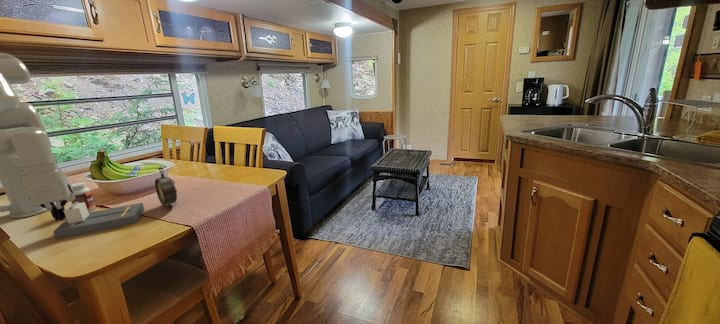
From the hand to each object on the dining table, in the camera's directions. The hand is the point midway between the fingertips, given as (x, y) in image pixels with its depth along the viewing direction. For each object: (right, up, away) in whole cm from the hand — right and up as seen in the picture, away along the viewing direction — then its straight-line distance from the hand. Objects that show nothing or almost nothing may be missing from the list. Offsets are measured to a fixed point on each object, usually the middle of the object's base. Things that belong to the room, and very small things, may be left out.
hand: (61, 218), depth 100 cm
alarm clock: (+26, +2, +18) cm, 32 cm away
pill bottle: (-7, 0, +17) cm, 19 cm away
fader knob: (+4, -1, +2) cm, 5 cm away
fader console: (+10, -3, +6) cm, 12 cm away
